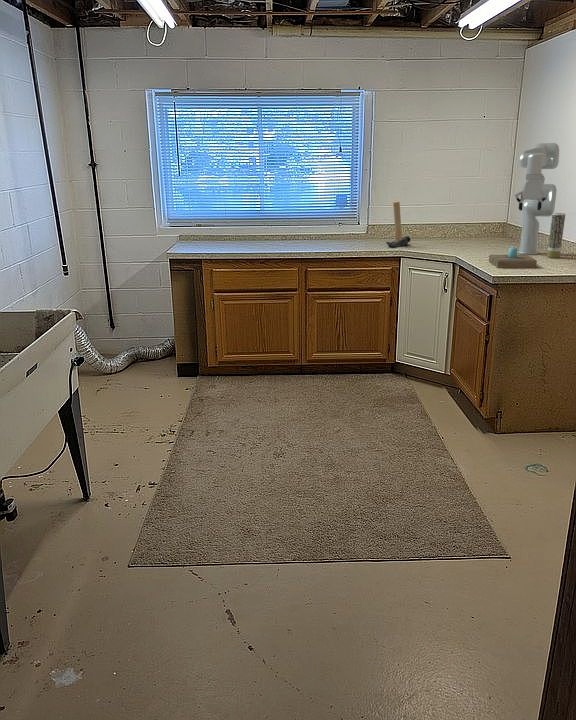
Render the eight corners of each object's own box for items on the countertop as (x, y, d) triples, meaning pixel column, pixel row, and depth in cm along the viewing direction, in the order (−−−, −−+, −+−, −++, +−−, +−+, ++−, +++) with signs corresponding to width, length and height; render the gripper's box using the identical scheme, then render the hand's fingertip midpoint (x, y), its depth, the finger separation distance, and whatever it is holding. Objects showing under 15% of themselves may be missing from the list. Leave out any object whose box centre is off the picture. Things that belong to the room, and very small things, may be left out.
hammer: (392, 251, 393) (389, 205, 380) (386, 250, 397) (383, 205, 383) (410, 242, 405) (408, 198, 392) (404, 241, 408) (402, 197, 395)
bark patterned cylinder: (560, 258, 343) (566, 214, 335) (548, 258, 344) (554, 214, 336) (558, 256, 349) (563, 213, 341) (545, 256, 350) (551, 213, 342)
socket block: (488, 261, 337) (489, 254, 336) (525, 261, 335) (525, 254, 334) (497, 267, 318) (498, 260, 317) (535, 267, 316) (536, 260, 315)
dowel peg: (506, 264, 329) (508, 247, 326) (514, 264, 328) (516, 247, 326) (508, 265, 325) (510, 248, 322) (516, 265, 324) (518, 248, 321)
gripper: (547, 177, 325) (543, 209, 331) (514, 177, 327) (511, 209, 332) (552, 177, 318) (547, 210, 324) (518, 178, 320) (515, 211, 325)
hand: (529, 210), depth 328 cm, fingers open, 9 cm apart
